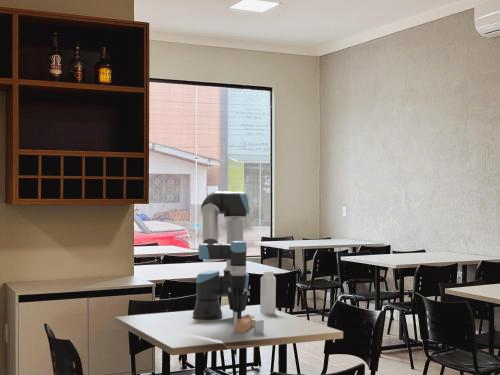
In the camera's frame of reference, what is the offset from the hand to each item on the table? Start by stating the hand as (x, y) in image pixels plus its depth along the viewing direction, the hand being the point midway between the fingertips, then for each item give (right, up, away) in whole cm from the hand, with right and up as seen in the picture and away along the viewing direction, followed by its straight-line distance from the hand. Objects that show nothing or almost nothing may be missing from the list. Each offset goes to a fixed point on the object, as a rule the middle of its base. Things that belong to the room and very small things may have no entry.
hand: (237, 325), depth 322 cm
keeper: (+9, -2, -7) cm, 12 cm away
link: (+4, -1, +1) cm, 4 cm away
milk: (+15, -3, +48) cm, 51 cm away
